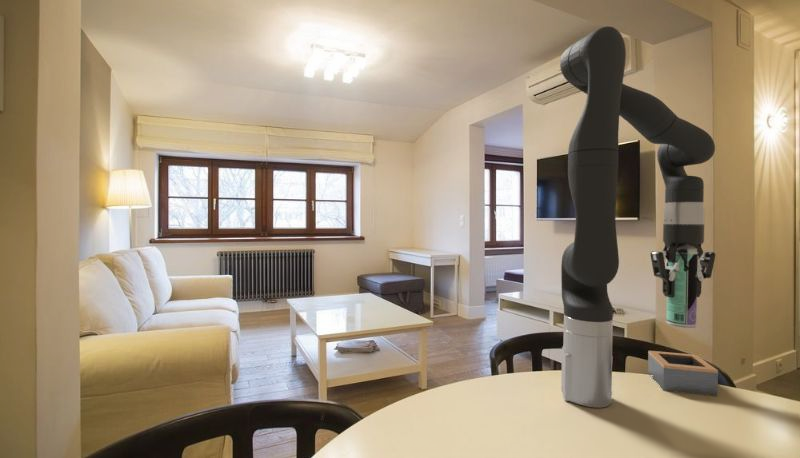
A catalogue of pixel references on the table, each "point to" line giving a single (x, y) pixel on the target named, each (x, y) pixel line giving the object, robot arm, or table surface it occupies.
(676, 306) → the spray can
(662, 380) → the grey open box
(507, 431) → the table surface
